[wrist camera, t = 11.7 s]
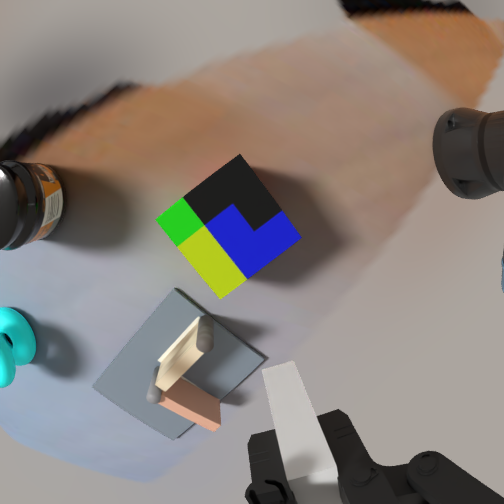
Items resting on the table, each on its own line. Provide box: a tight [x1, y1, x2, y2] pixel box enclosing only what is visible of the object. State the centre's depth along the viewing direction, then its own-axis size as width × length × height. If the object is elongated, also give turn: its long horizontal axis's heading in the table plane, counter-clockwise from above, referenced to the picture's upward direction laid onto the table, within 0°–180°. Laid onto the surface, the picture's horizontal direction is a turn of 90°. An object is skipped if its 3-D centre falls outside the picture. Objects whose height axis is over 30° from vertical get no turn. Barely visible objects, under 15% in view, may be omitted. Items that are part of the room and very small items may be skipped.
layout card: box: [92, 288, 264, 440], centre depth 42 cm, size 22×16×1 cm
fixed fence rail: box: [155, 315, 214, 392], centre depth 38 cm, size 10×2×7 cm, turn 137°
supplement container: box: [0, 160, 66, 250], centre depth 30 cm, size 10×10×12 cm
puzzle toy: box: [155, 154, 302, 299], centre depth 35 cm, size 10×10×10 cm
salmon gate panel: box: [146, 366, 221, 432], centre depth 39 cm, size 11×2×7 cm, turn 53°
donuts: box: [0, 307, 36, 388], centre depth 34 cm, size 10×10×10 cm
